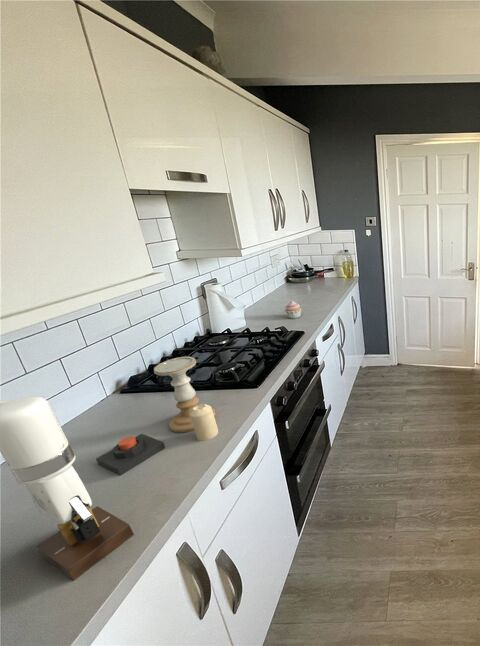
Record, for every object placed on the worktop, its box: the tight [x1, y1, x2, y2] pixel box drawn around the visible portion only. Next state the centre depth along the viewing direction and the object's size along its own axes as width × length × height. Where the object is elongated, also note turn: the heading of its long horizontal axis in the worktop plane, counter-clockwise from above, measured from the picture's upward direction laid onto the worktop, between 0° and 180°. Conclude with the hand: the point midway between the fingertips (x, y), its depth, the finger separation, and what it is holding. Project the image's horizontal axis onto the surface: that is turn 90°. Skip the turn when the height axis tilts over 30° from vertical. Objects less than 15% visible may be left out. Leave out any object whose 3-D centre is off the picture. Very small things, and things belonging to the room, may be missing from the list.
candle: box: [189, 403, 219, 442], centre depth 101 cm, size 6×6×10 cm
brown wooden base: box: [35, 506, 135, 581], centre depth 71 cm, size 10×12×3 cm
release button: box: [117, 435, 137, 450], centre depth 94 cm, size 4×4×2 cm
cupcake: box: [284, 300, 303, 320], centre depth 198 cm, size 9×9×10 cm
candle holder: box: [153, 356, 216, 434], centre depth 106 cm, size 12×12×20 cm
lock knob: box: [56, 507, 99, 546], centre depth 69 cm, size 5×2×5 cm, turn 157°
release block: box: [95, 433, 166, 477], centre depth 95 cm, size 11×10×4 cm
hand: (82, 532), depth 70 cm, fingers open, 4 cm apart
